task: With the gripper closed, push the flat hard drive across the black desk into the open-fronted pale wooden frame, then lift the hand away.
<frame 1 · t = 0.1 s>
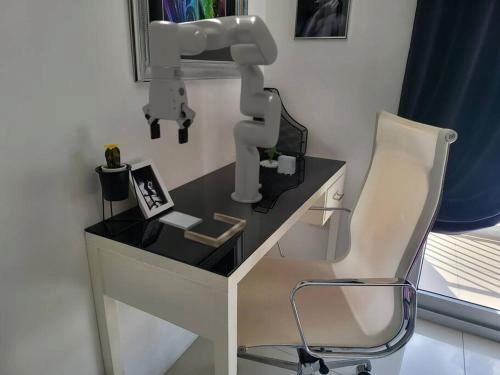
hand: (169, 140, 93), 31 cm above the table, tool pointing down, fingers open, 9 cm apart
potted plant: (270, 164, 192), on the table
medicine box: (286, 173, 176), on the table
wooden frame: (214, 231, 112), on the table
hard drive: (181, 223, 118), on the table
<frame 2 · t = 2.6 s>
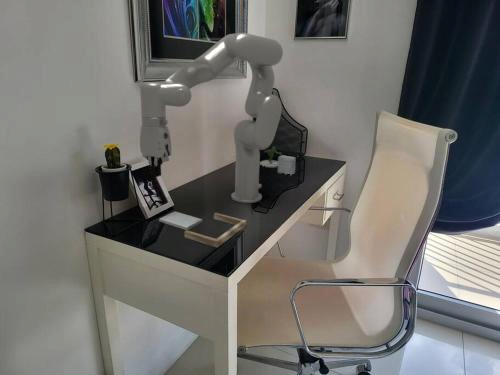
hand: (156, 176, 117), 15 cm above the table, tool pointing down, fingers closed
nothing on the table moved.
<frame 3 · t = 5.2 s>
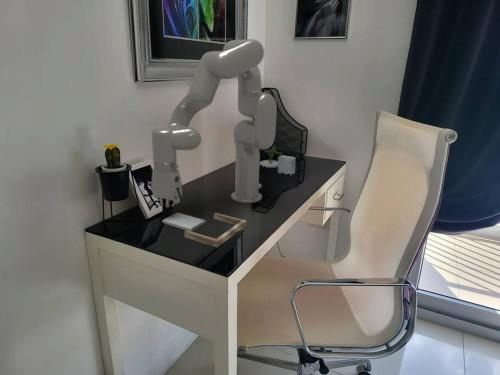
hand: (167, 216, 120), 1 cm above the table, tool pointing down, fingers closed
hard drive: (184, 224, 117), on the table
everything else where it was.
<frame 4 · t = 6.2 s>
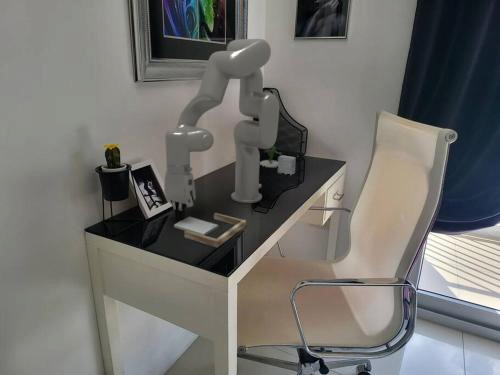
hand: (180, 219, 117), 1 cm above the table, tool pointing down, fingers closed
hard drive: (196, 229, 114), on the table
everything else where it was.
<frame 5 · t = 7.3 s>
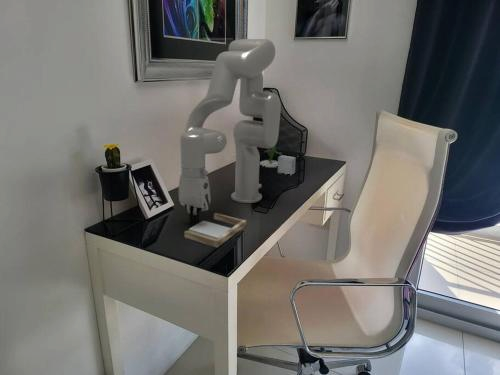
hand: (194, 223, 115), 1 cm above the table, tool pointing down, fingers closed
hard drive: (211, 233, 112), on the table, touching wooden frame
everything else where it was.
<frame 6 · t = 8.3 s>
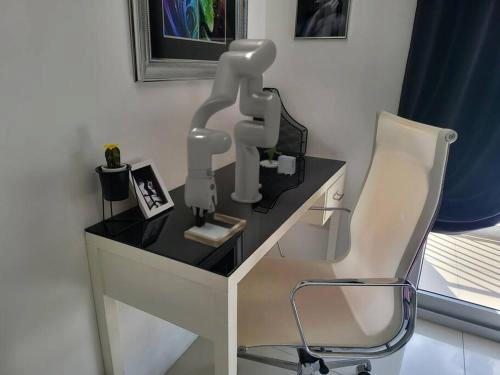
hand: (200, 225, 114), 1 cm above the table, tool pointing down, fingers closed
hard drive: (210, 234, 111), on the table, touching gripper
everything else where it was.
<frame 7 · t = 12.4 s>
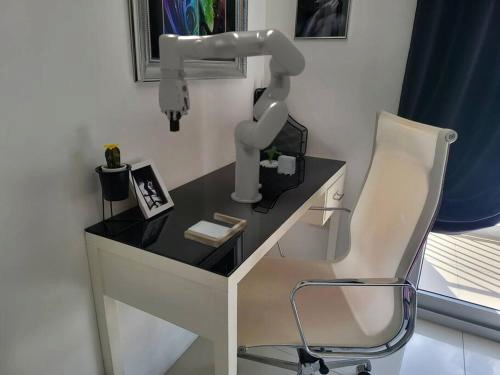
hand: (174, 131, 118), 29 cm above the table, tool pointing down, fingers closed
hard drive: (210, 233, 112), on the table
everything else where it was.
at the end: hard drive 1.4 cm off-centre on the wooden frame, point -0.8 cm above the wooden frame's base; hard drive tilted 2°; the gripper is holding nothing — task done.
